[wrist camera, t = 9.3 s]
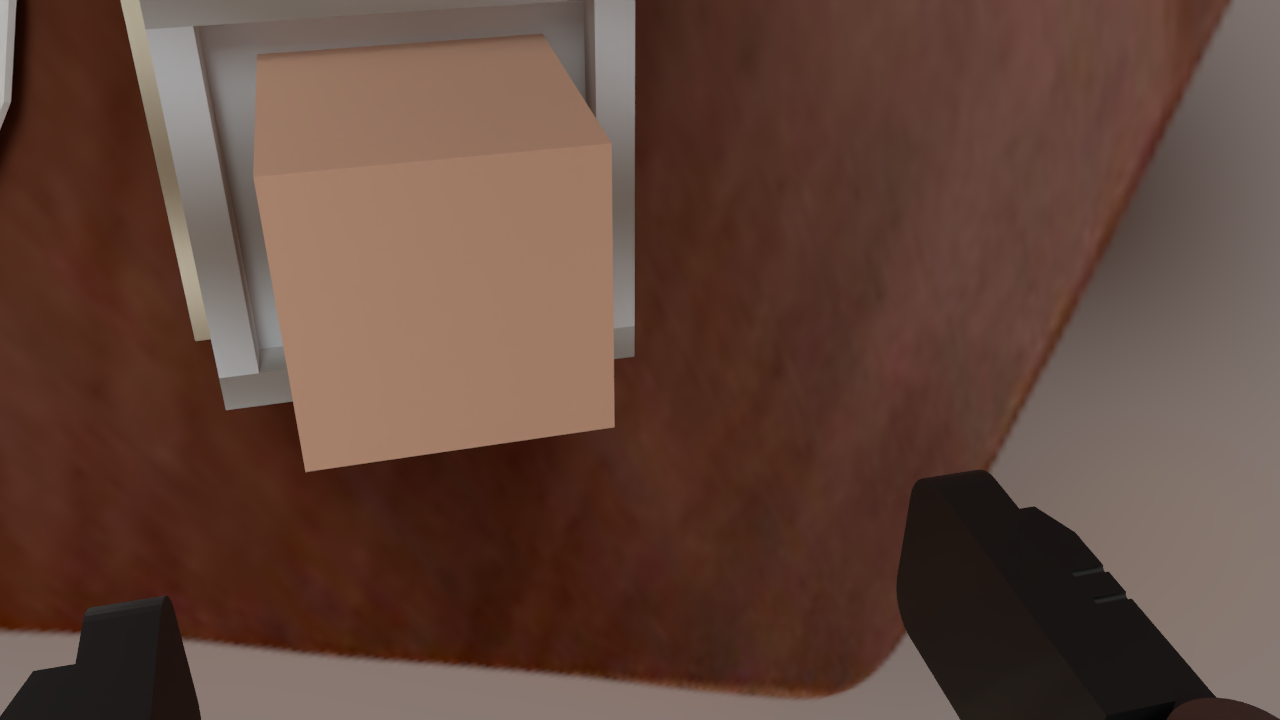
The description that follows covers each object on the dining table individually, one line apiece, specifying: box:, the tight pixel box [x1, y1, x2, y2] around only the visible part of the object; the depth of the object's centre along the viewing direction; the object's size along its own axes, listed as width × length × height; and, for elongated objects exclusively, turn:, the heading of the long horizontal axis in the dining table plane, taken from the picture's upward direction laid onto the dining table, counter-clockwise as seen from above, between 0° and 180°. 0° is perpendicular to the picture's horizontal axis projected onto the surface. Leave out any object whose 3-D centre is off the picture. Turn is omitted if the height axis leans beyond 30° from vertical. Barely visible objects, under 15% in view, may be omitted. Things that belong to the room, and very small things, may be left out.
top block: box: [253, 34, 615, 472], centre depth 23 cm, size 6×6×6 cm
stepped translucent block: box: [121, 0, 635, 410], centre depth 28 cm, size 11×11×9 cm
